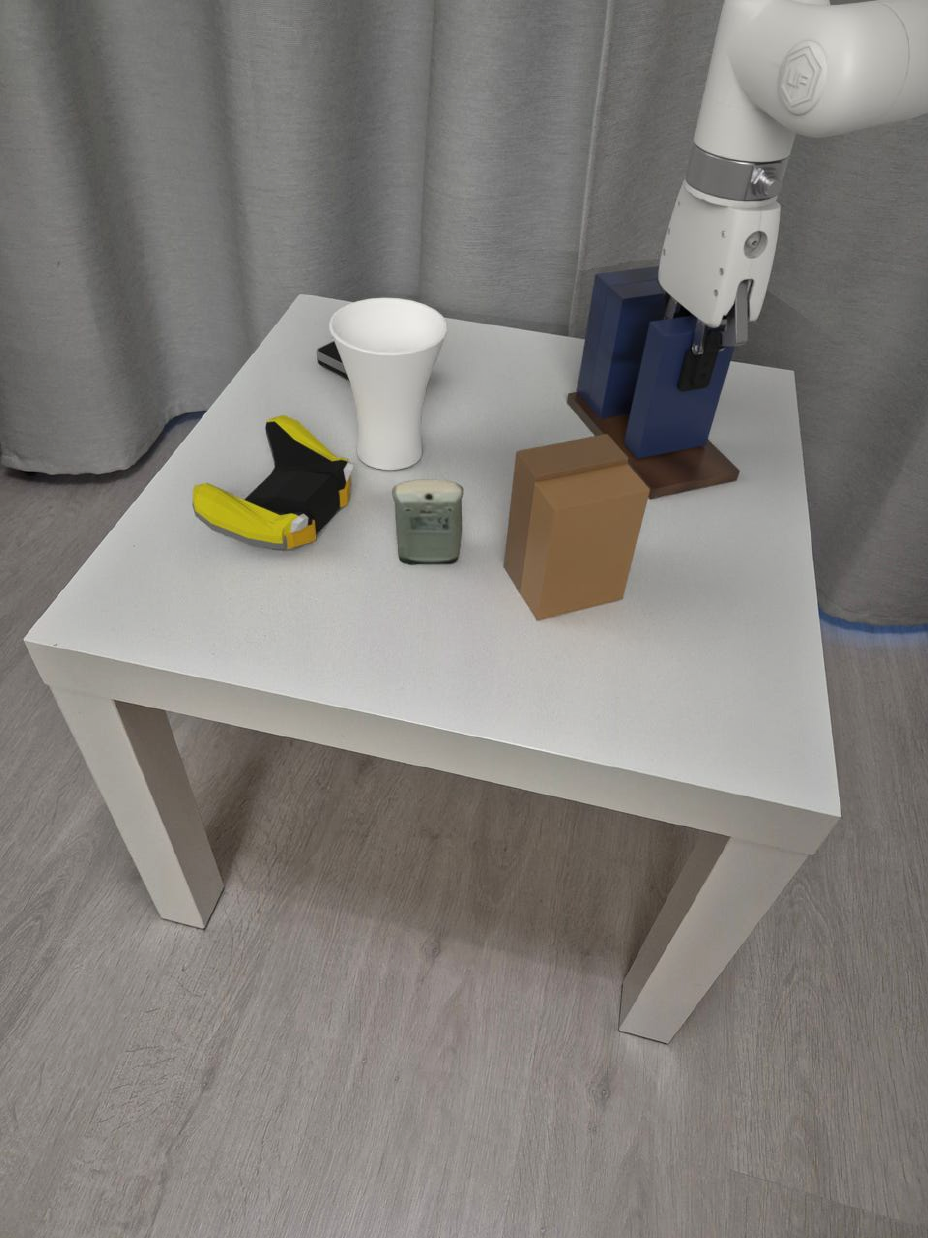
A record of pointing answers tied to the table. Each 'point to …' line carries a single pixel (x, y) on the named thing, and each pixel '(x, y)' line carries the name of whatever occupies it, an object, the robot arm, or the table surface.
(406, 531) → the grey-green rounded box
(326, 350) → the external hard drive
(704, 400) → the navy book
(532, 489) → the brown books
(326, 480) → the gaming controller
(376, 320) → the cup
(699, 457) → the blue bookends on base
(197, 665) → the table surface
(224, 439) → the table surface
